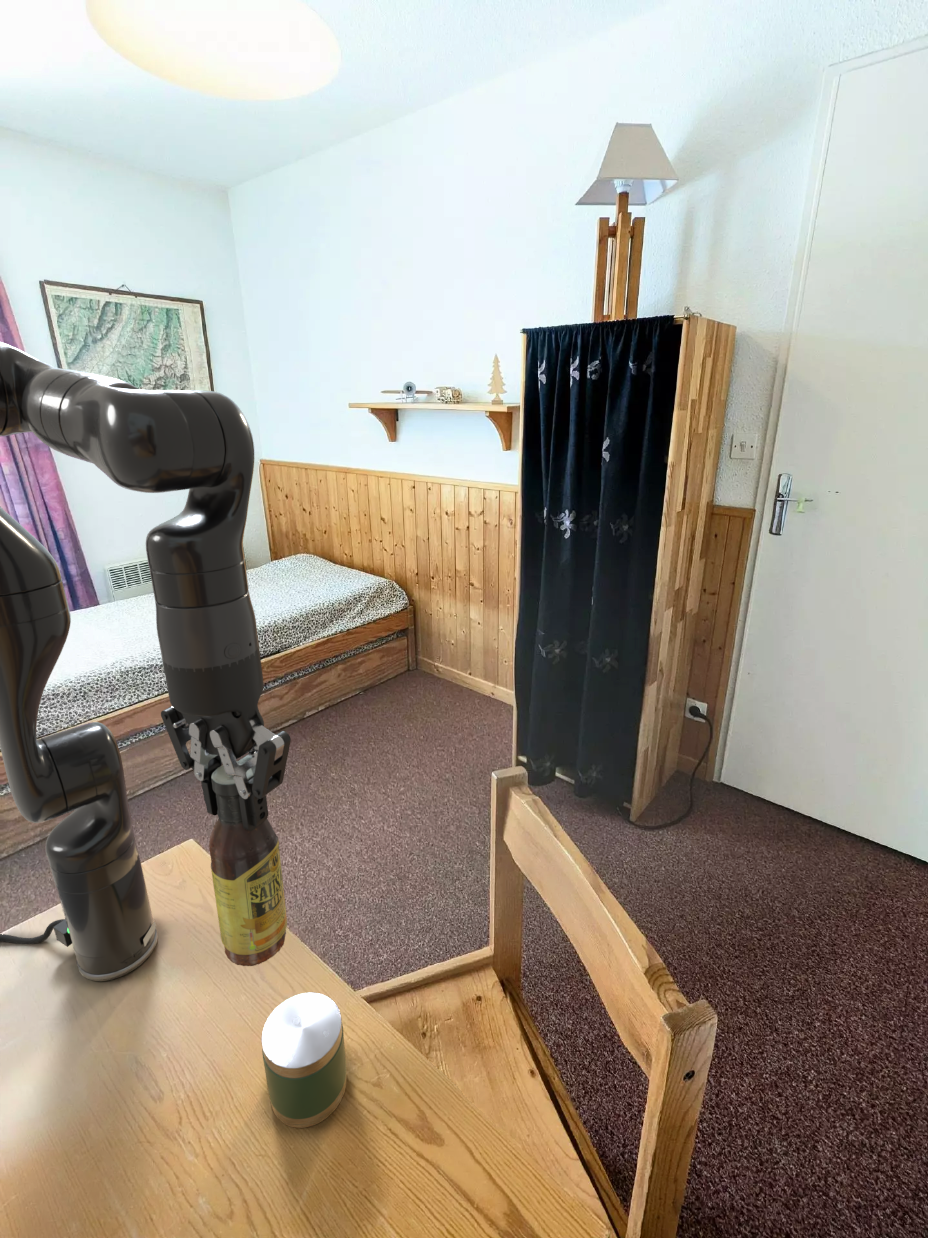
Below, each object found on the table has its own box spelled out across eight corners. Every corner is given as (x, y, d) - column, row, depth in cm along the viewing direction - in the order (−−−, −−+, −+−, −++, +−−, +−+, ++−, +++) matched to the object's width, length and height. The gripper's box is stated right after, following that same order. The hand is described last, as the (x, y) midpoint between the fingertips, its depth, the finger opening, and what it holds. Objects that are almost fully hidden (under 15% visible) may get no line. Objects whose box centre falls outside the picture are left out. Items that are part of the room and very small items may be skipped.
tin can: (253, 1103, 64) (242, 1044, 61) (306, 1035, 71) (299, 979, 68) (312, 1145, 60) (305, 1085, 57) (362, 1070, 67) (358, 1012, 64)
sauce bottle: (269, 976, 58) (244, 801, 51) (210, 964, 59) (178, 791, 52) (300, 921, 64) (281, 758, 57) (246, 911, 65) (221, 751, 58)
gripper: (307, 646, 50) (323, 817, 56) (190, 619, 57) (216, 775, 62) (236, 681, 44) (263, 869, 50) (114, 646, 50) (150, 817, 56)
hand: (237, 816), depth 56 cm, fingers closed on sauce bottle, 4 cm apart
